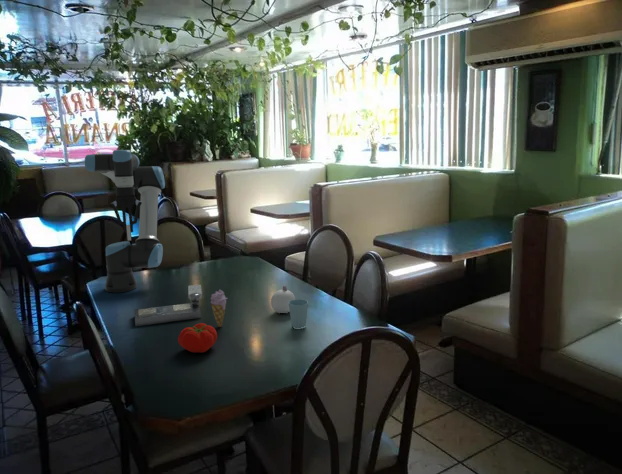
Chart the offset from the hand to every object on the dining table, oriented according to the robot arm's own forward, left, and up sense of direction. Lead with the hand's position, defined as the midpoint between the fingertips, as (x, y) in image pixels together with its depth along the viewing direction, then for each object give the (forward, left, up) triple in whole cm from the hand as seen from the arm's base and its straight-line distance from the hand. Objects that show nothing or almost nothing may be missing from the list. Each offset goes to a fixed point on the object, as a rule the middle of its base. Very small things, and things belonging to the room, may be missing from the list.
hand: (129, 239), depth 221 cm
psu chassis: (+21, +13, -30) cm, 39 cm away
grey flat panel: (+12, +26, -25) cm, 38 cm away
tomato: (+60, +21, -31) cm, 70 cm away
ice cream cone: (+40, +32, -31) cm, 60 cm away
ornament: (+34, +60, -31) cm, 75 cm away
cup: (+52, +61, -31) cm, 86 cm away
